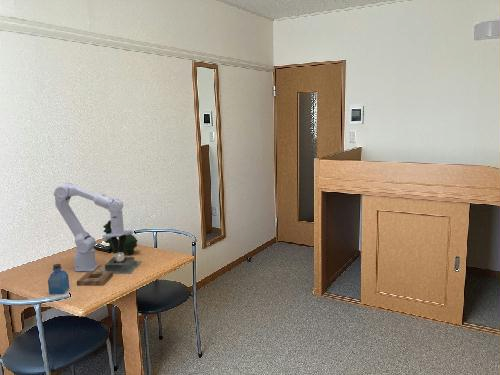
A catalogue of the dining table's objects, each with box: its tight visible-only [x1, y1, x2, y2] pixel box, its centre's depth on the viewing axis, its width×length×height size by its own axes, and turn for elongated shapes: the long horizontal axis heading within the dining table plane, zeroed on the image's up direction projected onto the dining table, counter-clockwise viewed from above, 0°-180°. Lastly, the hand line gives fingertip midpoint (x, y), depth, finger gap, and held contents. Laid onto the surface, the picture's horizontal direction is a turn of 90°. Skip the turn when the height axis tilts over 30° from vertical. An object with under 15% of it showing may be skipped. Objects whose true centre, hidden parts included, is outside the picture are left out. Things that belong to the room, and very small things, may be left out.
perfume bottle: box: [47, 263, 70, 295], centre depth 180 cm, size 6×6×12 cm
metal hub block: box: [100, 256, 142, 275], centre depth 207 cm, size 16×16×4 cm
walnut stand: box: [76, 270, 114, 286], centre depth 192 cm, size 12×12×2 cm
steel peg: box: [114, 251, 125, 263], centre depth 207 cm, size 4×4×7 cm
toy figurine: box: [102, 219, 138, 256], centre depth 230 cm, size 9×19×25 cm
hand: (119, 250), depth 206 cm, fingers closed
